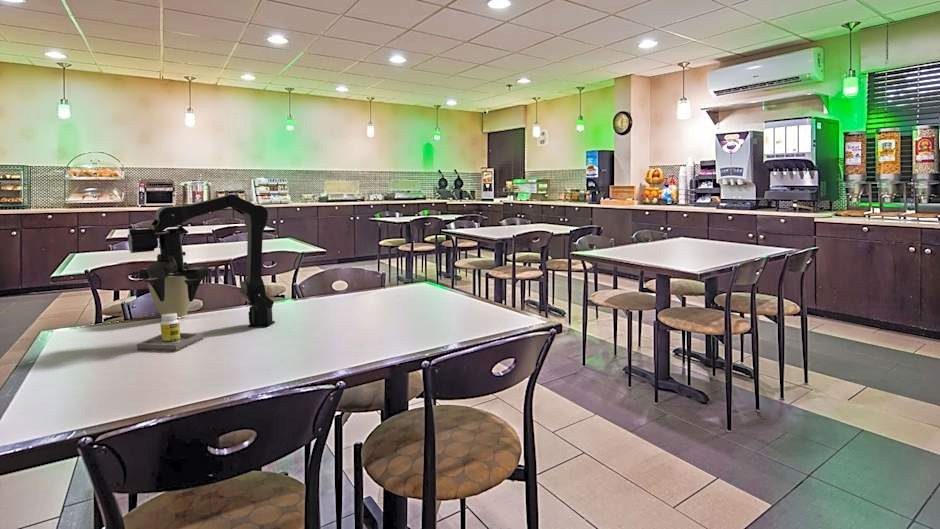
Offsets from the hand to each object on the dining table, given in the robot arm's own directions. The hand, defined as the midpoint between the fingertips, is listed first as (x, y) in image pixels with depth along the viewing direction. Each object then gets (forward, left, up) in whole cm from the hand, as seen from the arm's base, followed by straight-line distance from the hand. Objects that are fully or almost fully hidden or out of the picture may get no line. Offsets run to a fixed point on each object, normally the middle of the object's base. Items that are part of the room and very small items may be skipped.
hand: (176, 301), depth 160 cm
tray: (-1, +6, -12) cm, 13 cm away
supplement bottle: (-1, +6, -11) cm, 13 cm away
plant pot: (+20, -24, -12) cm, 33 cm away
